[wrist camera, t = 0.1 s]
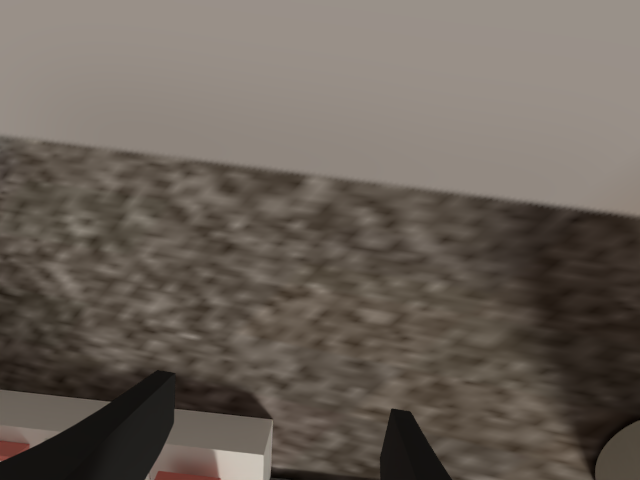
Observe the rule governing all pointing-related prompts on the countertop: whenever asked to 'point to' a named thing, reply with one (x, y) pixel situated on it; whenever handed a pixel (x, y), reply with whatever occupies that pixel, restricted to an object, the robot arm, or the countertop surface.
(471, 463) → the countertop surface
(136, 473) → the robot arm
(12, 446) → the rocker
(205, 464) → the power strip
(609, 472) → the travel mug
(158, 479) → the rocker
